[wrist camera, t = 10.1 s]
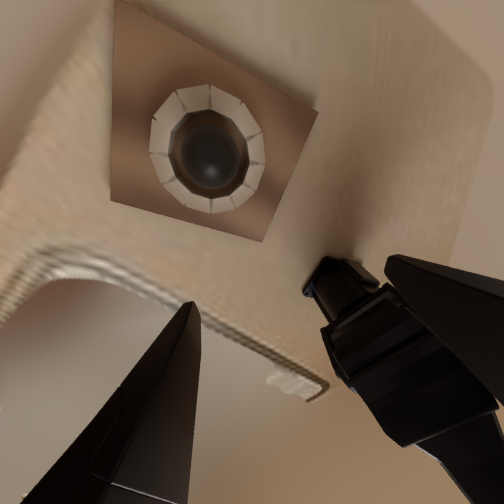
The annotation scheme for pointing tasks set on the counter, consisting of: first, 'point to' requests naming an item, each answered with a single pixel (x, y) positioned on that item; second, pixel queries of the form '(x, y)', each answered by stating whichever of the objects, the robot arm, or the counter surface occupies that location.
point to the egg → (209, 156)
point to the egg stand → (190, 116)
